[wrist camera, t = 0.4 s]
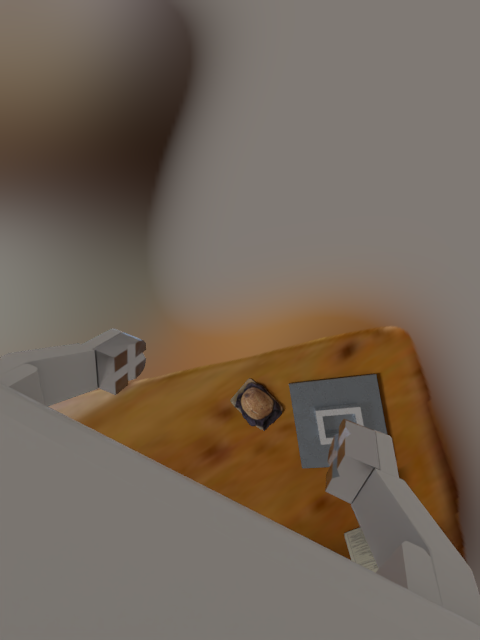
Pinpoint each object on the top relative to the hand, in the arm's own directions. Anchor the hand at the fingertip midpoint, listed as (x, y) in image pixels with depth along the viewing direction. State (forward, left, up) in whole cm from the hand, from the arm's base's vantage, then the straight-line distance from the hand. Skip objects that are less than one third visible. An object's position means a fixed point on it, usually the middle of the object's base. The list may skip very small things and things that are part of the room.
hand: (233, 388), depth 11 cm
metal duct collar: (-18, -8, -52) cm, 56 cm away
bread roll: (-13, +9, -53) cm, 55 cm away
